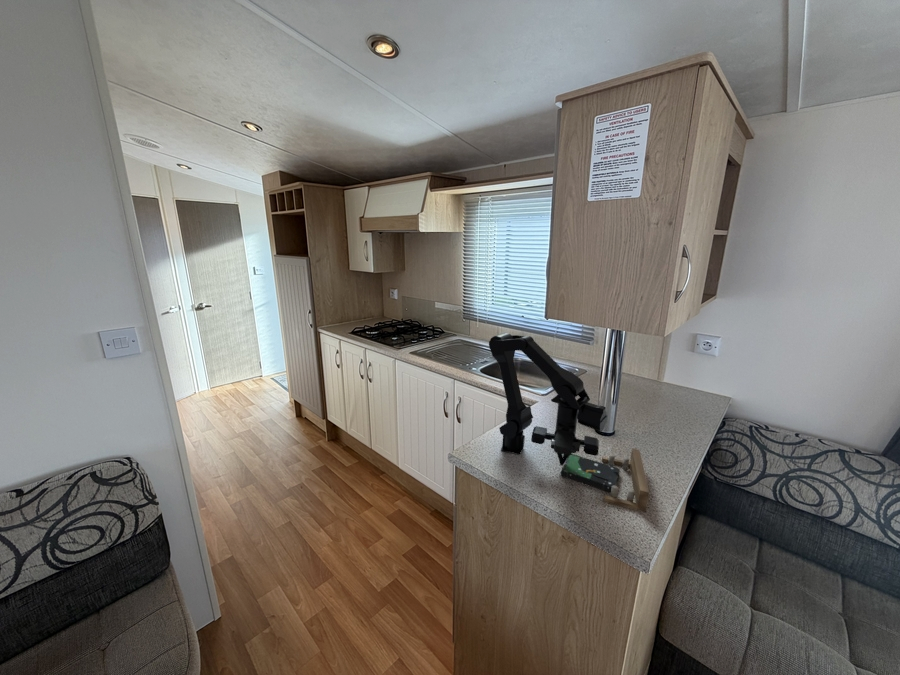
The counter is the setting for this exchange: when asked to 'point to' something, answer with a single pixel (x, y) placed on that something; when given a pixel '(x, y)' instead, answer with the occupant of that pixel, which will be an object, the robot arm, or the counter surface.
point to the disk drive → (590, 472)
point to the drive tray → (637, 480)
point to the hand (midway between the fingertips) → (561, 464)
